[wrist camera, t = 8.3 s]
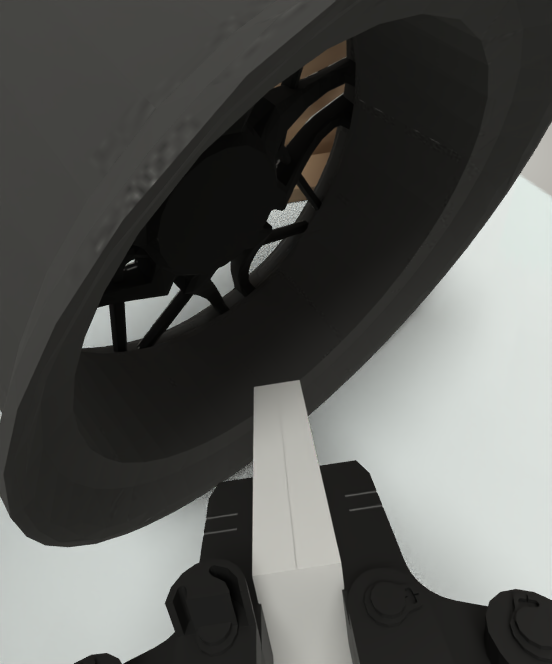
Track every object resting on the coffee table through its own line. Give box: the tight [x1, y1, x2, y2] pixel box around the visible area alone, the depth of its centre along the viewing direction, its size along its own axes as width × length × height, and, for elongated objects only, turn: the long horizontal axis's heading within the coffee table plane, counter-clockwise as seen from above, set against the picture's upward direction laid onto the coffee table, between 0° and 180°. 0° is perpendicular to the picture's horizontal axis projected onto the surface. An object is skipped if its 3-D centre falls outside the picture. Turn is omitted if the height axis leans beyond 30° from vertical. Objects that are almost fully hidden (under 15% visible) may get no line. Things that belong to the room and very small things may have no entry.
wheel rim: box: [0, 0, 552, 547], centre depth 15 cm, size 20×9×20 cm, turn 131°
